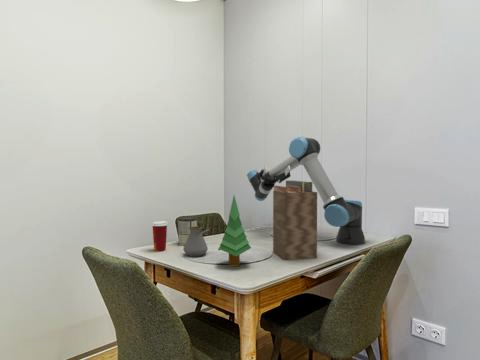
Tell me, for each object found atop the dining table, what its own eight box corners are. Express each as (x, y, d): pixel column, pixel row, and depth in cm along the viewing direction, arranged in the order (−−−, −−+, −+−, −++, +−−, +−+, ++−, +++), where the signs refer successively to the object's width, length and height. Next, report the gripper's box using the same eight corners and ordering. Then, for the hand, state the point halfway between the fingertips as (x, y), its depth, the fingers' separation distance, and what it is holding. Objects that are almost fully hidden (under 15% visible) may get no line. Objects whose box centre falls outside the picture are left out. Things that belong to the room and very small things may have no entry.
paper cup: (170, 249, 170) (170, 221, 170) (161, 252, 163) (161, 223, 163) (158, 247, 173) (158, 220, 173) (148, 251, 166) (148, 222, 166)
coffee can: (181, 241, 188) (181, 216, 188) (199, 241, 187) (199, 216, 187) (175, 245, 178) (175, 219, 178) (195, 246, 177) (194, 219, 176)
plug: (293, 189, 174) (293, 180, 174) (312, 192, 153) (312, 182, 153) (285, 189, 173) (285, 180, 173) (304, 192, 152) (304, 182, 152)
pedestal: (303, 250, 167) (303, 185, 166) (316, 257, 154) (317, 186, 152) (273, 252, 163) (273, 185, 162) (284, 260, 150) (284, 187, 148)
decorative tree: (209, 264, 143) (209, 193, 142) (239, 258, 153) (238, 192, 152) (228, 271, 133) (228, 196, 132) (258, 264, 142) (258, 194, 141)
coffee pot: (188, 259, 152) (188, 225, 151) (180, 253, 162) (179, 222, 161) (230, 253, 162) (230, 222, 161) (220, 248, 172) (220, 219, 172)
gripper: (287, 190, 204) (300, 173, 185) (247, 191, 197) (257, 173, 179) (285, 179, 207) (297, 161, 189) (245, 180, 201) (255, 161, 183)
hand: (277, 167), depth 184 cm, fingers open, 13 cm apart
